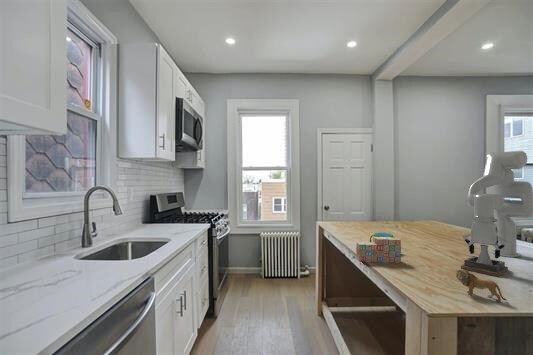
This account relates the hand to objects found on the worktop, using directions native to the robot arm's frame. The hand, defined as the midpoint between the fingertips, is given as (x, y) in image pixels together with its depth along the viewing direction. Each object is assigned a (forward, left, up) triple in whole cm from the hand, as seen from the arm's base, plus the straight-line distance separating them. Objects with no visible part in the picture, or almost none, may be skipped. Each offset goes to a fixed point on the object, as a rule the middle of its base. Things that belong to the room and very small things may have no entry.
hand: (484, 255), depth 132 cm
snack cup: (+7, -48, -7) cm, 49 cm away
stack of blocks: (+28, -38, -7) cm, 48 cm away
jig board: (0, 0, -7) cm, 7 cm away
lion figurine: (+40, +9, -7) cm, 41 cm away
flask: (0, 0, -5) cm, 5 cm away
